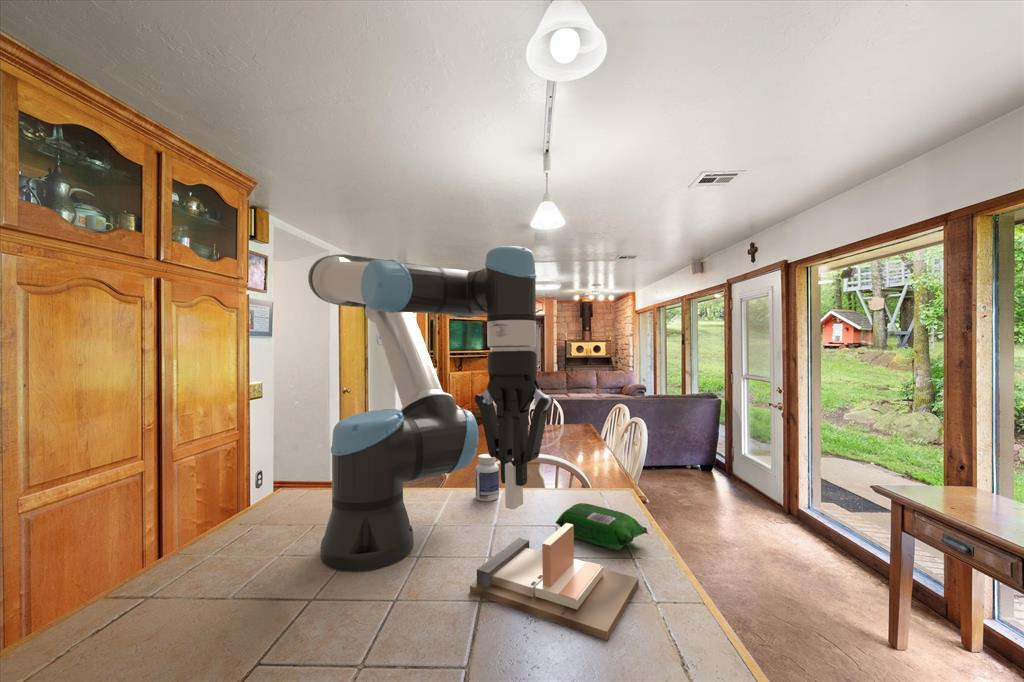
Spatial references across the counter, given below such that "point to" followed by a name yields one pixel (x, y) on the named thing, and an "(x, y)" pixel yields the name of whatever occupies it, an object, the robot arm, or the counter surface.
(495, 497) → the pill bottle
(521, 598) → the wooden base board
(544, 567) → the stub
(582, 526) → the snack package
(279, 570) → the counter surface
